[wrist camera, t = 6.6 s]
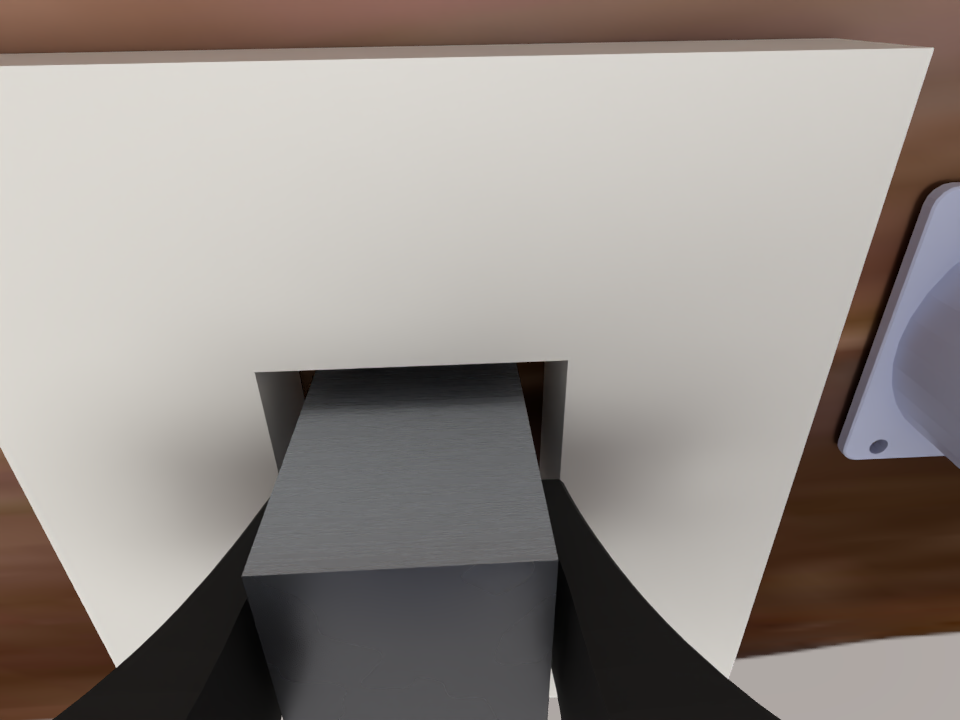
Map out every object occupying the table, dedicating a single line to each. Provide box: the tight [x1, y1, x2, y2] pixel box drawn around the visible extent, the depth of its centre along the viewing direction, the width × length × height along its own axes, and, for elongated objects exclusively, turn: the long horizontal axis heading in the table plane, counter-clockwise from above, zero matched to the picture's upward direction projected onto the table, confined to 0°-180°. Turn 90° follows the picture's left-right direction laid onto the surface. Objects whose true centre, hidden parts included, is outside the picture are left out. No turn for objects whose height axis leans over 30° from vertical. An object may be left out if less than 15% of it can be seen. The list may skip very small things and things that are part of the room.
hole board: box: [0, 38, 934, 698], centre depth 16 cm, size 18×18×3 cm
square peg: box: [241, 362, 558, 720], centre depth 13 cm, size 4×4×8 cm
